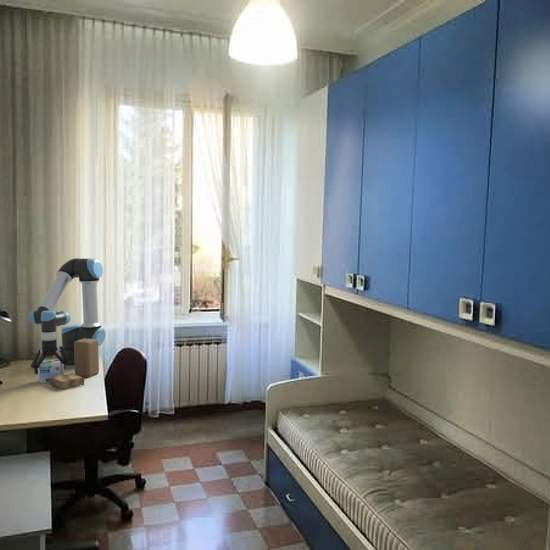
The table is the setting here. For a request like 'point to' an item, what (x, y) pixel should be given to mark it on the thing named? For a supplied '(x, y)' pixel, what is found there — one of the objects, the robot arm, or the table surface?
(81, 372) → the wooden block
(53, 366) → the light bulb box
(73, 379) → the brown open tray
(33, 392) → the table surface
